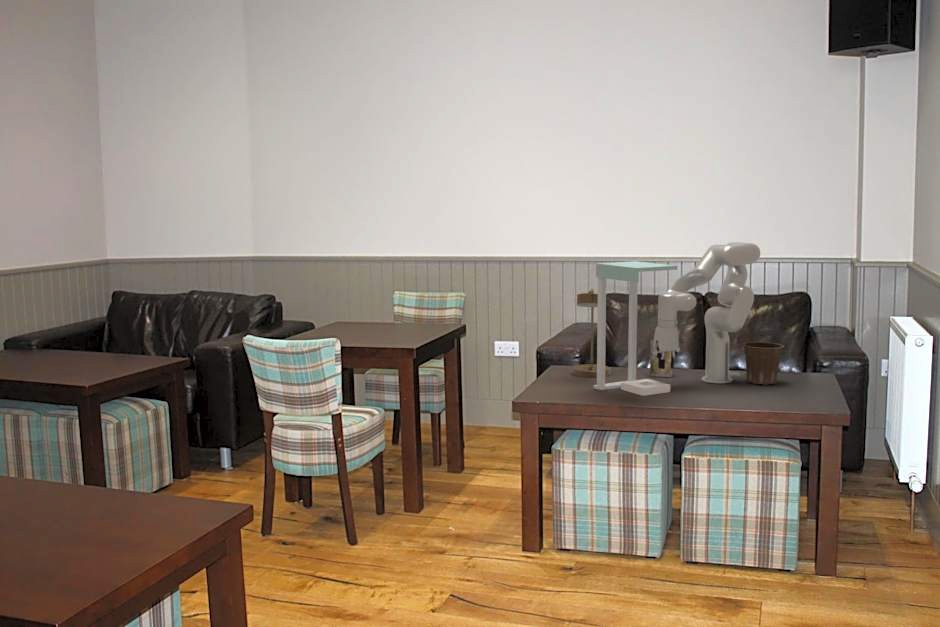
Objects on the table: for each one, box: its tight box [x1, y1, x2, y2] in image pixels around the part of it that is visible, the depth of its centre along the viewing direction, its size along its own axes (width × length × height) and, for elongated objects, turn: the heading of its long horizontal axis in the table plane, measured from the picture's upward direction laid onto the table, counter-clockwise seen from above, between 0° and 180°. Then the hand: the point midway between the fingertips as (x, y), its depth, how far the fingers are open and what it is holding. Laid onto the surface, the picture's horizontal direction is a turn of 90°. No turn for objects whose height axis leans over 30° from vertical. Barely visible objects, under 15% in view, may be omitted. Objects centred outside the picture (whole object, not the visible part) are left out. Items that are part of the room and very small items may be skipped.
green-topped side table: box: [592, 260, 678, 391], centre depth 389 cm, size 20×27×52 cm
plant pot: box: [742, 341, 784, 386], centre depth 407 cm, size 16×16×16 cm
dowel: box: [661, 351, 671, 374], centre depth 397 cm, size 4×4×10 cm
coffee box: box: [649, 337, 673, 378], centre depth 424 cm, size 9×6×16 cm
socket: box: [620, 378, 671, 397], centre depth 394 cm, size 14×14×3 cm
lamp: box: [571, 288, 611, 378], centre depth 423 cm, size 17×27×38 cm, turn 169°
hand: (665, 367), depth 398 cm, fingers closed on dowel, 4 cm apart
